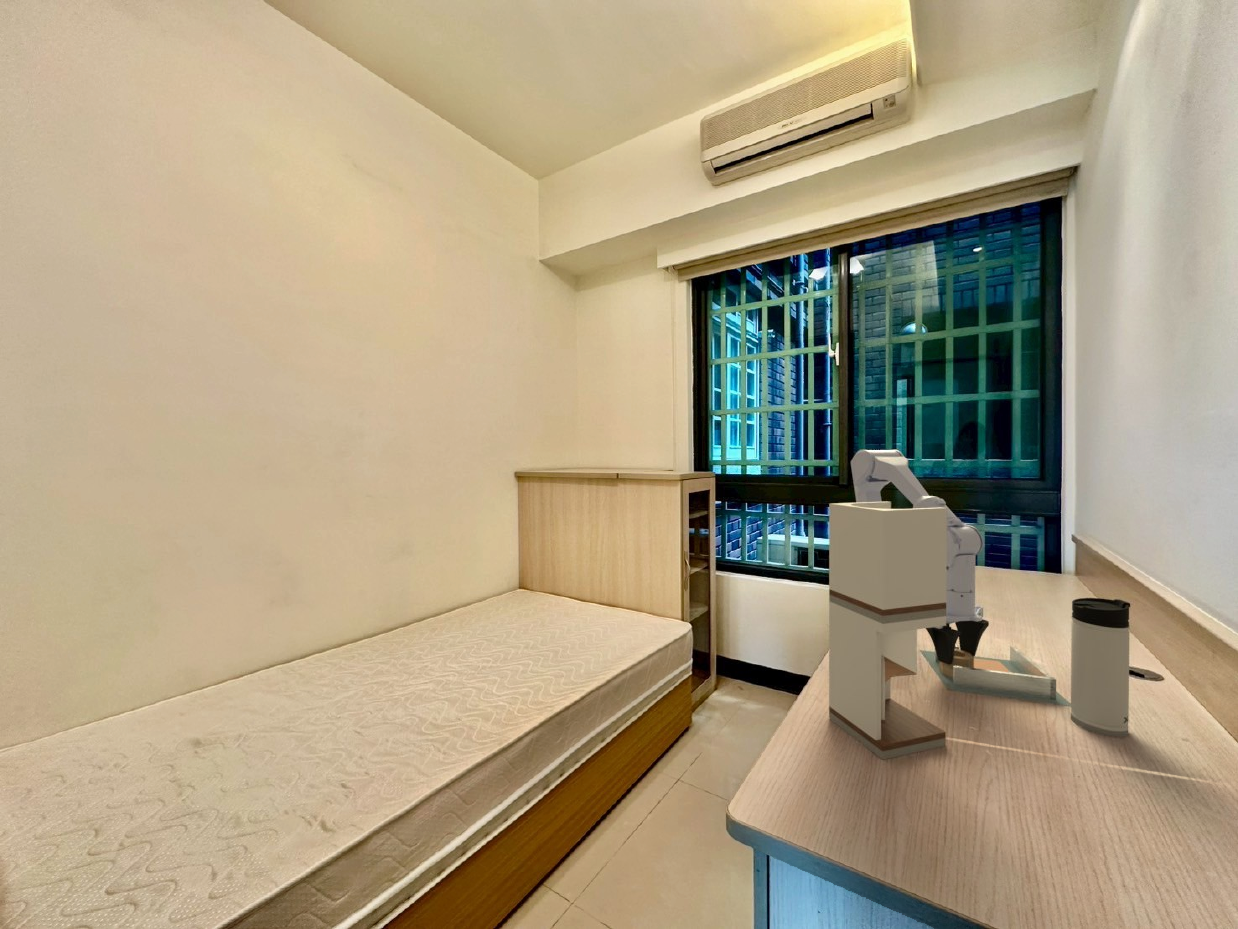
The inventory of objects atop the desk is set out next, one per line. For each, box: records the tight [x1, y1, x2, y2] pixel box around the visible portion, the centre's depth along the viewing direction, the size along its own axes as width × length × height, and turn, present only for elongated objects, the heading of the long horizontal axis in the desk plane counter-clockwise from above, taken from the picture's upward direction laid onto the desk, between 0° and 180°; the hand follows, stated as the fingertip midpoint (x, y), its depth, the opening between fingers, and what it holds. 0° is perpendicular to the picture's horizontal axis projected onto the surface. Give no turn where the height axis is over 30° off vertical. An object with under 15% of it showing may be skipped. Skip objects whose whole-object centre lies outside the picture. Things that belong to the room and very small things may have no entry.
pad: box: [974, 658, 1011, 673], centre depth 92 cm, size 6×6×1 cm
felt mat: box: [919, 649, 1071, 707], centre depth 89 cm, size 18×18×1 cm
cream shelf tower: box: [828, 500, 947, 760], centre depth 71 cm, size 11×11×35 cm
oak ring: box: [939, 648, 974, 678], centre depth 89 cm, size 5×5×4 cm
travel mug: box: [1070, 597, 1131, 739], centre depth 72 cm, size 6×7×20 cm
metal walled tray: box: [934, 644, 1057, 700], centre depth 89 cm, size 15×15×4 cm
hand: (956, 658), depth 89 cm, fingers open, 7 cm apart
